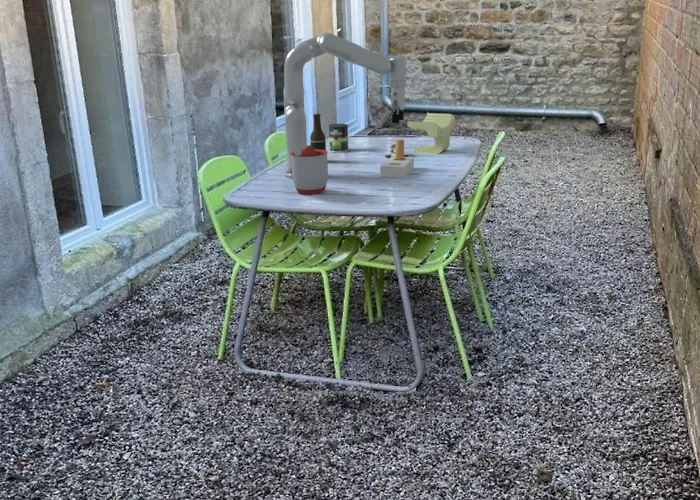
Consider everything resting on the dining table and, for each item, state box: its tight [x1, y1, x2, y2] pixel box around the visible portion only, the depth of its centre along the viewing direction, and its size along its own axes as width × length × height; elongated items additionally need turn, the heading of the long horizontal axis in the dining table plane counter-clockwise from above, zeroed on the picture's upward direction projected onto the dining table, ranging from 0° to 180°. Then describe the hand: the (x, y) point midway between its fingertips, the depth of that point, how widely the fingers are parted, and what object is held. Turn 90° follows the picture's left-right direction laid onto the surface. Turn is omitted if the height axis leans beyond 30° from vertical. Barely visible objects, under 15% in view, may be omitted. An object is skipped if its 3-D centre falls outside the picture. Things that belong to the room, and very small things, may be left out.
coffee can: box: [328, 123, 349, 154], centre depth 390 cm, size 10×10×14 cm
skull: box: [384, 141, 409, 158], centre depth 373 cm, size 12×10×10 cm
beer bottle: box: [309, 113, 327, 151], centre depth 363 cm, size 8×8×24 cm
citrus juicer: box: [291, 144, 329, 196], centre depth 305 cm, size 16×17×20 cm
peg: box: [394, 139, 405, 161], centre depth 341 cm, size 4×4×14 cm
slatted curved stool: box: [407, 112, 456, 155], centre depth 380 cm, size 30×16×18 cm, turn 154°
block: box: [379, 156, 415, 179], centre depth 337 cm, size 22×11×5 cm, turn 164°
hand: (397, 121), depth 336 cm, fingers open, 9 cm apart
